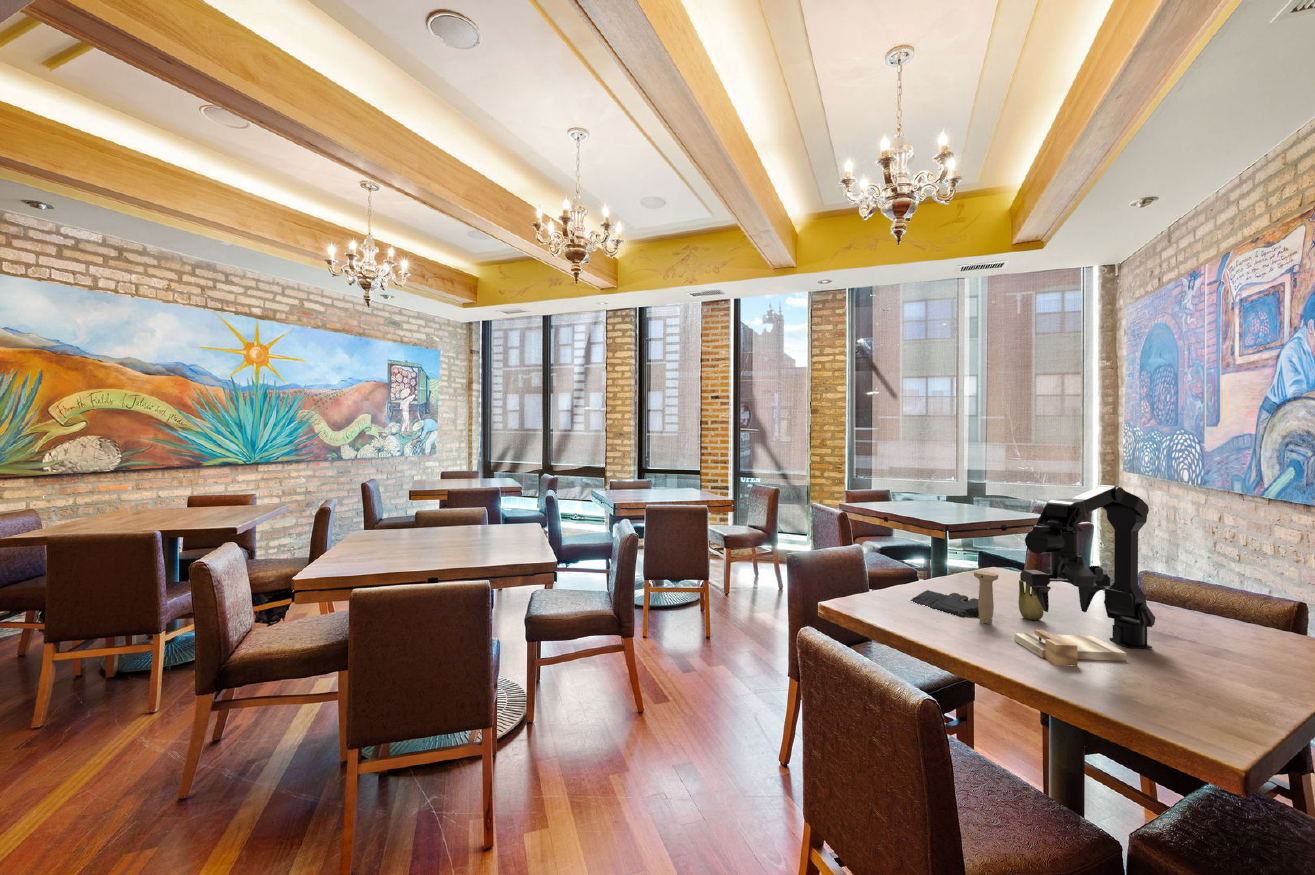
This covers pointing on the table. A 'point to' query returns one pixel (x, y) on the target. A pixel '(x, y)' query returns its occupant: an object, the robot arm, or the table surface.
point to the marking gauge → (1058, 649)
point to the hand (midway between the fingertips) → (1065, 611)
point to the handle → (986, 595)
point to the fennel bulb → (1029, 603)
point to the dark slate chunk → (949, 603)
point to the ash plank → (1085, 646)
